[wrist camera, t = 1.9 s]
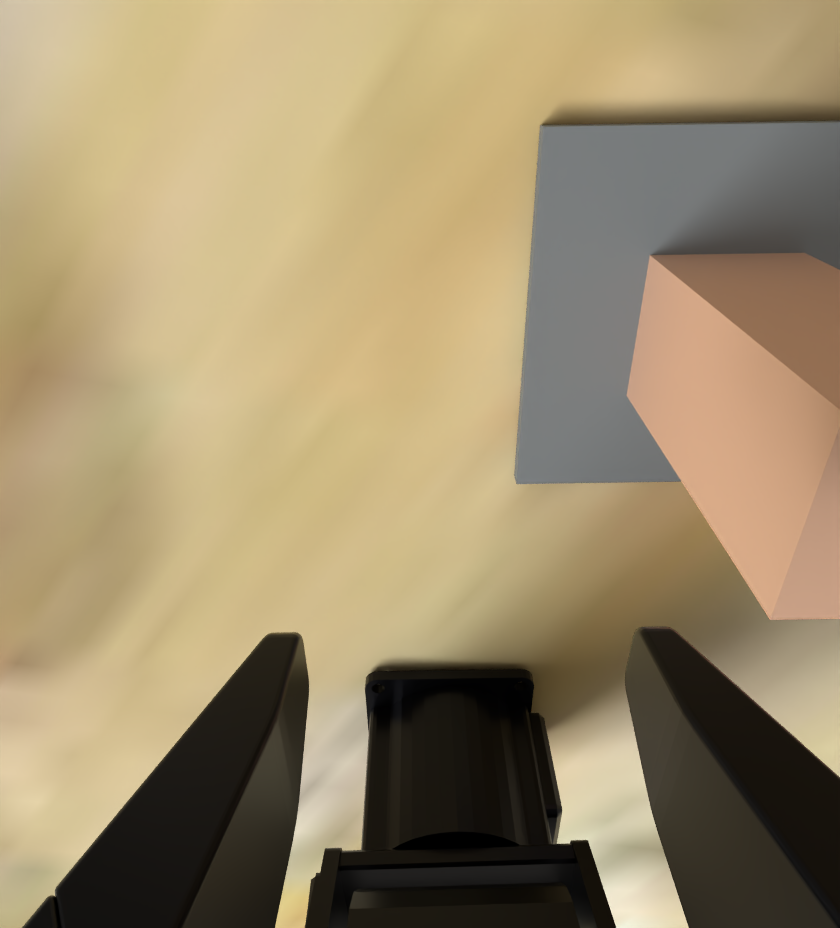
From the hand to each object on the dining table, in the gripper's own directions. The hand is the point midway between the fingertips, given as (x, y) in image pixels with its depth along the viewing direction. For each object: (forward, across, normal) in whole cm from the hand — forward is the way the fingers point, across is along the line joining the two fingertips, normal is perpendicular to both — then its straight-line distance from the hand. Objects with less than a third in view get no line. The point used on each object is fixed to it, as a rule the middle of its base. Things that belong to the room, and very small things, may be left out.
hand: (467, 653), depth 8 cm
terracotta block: (+12, -8, 0) cm, 14 cm away
